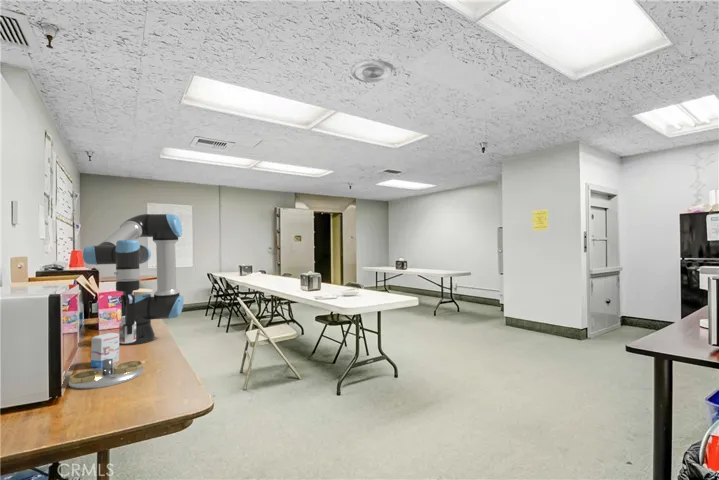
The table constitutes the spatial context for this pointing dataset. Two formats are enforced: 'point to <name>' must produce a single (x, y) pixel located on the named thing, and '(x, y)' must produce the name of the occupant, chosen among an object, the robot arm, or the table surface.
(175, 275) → the robot arm
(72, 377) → the carrier
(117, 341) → the ink box
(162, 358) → the table surface
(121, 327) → the pill bottle
